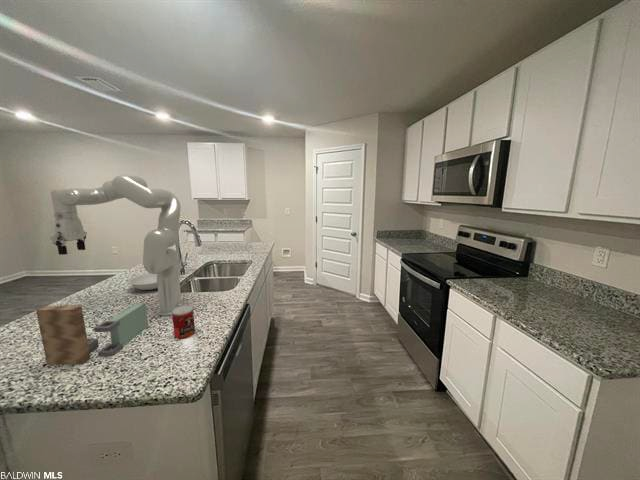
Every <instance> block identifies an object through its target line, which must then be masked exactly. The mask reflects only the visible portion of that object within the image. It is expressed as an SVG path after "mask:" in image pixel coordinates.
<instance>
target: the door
mask: <svg viewBox="0 0 640 480" xmlns="http://www.w3.org/2000/svg"><path fill="white" fill-rule="evenodd" d="M147 327H149V320H148V311H147V305H146V302H138V303H136V304H134V305H133V306H131V307H129V308H127V309H126V310H124V311H123V312H120V313H119V314H117V315H116V316H115V317H113V318H111V319H110V320H104V321H103V322H102V323H100V324H98V325H97V326H95V327H94V328H93V330H94V332H95V333H106V332H107V333H109V334H110V340H111V343H109V344H106V346H105V347H103V348H102V349H100V350H99V351H98V352H97V354H98V355H97V356H98V357H114V356H115V355H116V354H117V353H119V351H121V350H122V349H123V348H124V346H125V345H126V344H127V343H129V342H130V341H131V340H132V339H134V338H135V337H136V336H138V335H139V334H140V333H141V332H143V331H144V330H145V329H147Z"/></svg>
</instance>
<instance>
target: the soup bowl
mask: <svg viewBox="0 0 640 480" xmlns="http://www.w3.org/2000/svg"><path fill="white" fill-rule="evenodd" d="M127 284H128V285H130V286H132V287H133V288H135V289H137V290H141V291H149V290H150V291H152V290H156V289H158V286H157V274H151V273H149V272H147V273H142V274H140V275H136V276H133V277H131V278H129V279H128V280H127Z"/></svg>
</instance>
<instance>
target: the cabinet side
mask: <svg viewBox="0 0 640 480" xmlns="http://www.w3.org/2000/svg"><path fill="white" fill-rule="evenodd" d="M82 306H83V305H45V306H43V307H39V308H37V309H35V313H36V316H37V317H36V318H37V323H38V328H39V331H40V336H41V342H42V347H43V351H44V355H45V361H46V365H48V366H49V364H50V366H51V364H52V366H53V364H67V365H84V364H85V363H87V362H88V361H90V360H91V359H92V358H91V353H93V352H94V351H95V350H97V349H98V348H99V347H100V344H99V340H98V338H88V335H87V330H86V324H85V318H84V312H83V307H82ZM86 361H87V362H86Z"/></svg>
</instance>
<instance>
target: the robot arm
mask: <svg viewBox="0 0 640 480" xmlns="http://www.w3.org/2000/svg"><path fill="white" fill-rule="evenodd" d="M50 196H51V197H50V198H51V203H52V208H53V209H52V210H53V212H54V216H53V217H54V235H52V236H51V237H50V240H51V241H52V243H53V245H55V247H57V252H58V255H59V256H61V255H68V250H67V245H66V243H67V242H72V241H76V246H77V247H76V248H77V250H78V251H85V250H86V244H85V242H86V239H87V235H88V233H87V231H85V230H84V227H83V224H82V221H81V219H80V218H79V215H78V209H77V206H93V205H94V206H95V205H101V204H106V203H110V202H114V201H117V200H121V199H127V200H129V201H130V202H132V203H133V204H136V205H138V206H140V207H142V208H145V209H159V208H160V209H161V211H160V213H159V215H158V223H157V229H152V230H150V231H148V232H147V233H146V235H145V237H144V240H143V253H142V254H143V255H142V266H143V268H144V270H145V271H146V272H147V273H151V274H157V286H158V288H157V293H158V294H157V295H158V302H159V307H158V308H157V309H156V314H157V315H159V316H161V317H164V316H166V317H167V316H172V311H173V310H174V309H175V308H177V307H180V306H190V302H189V301H186V302H185V301H184V299H182V295H181V294H182V293H181V283H180V256H179V253H178V251H176V250H175V249H174V248H171V247H173V246H175V245H177V243H178V241H179V231H180V230H179V229H180V217H181V216H180V215H181V203H180V200H179V199H178V197H177V195H175V194H174V193H172V191H169V190H166V189H161V188H160V189H159V188H148V183H147V182H146V180H145V179H144V178H142V177H140V176H137V175H128V174H119V175H116V176H115V177H113V179H112V180H108V181H105V182H103V184H102V185H101V187H97V188H96V187H95V188H53V189H51V191H50Z"/></svg>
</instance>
